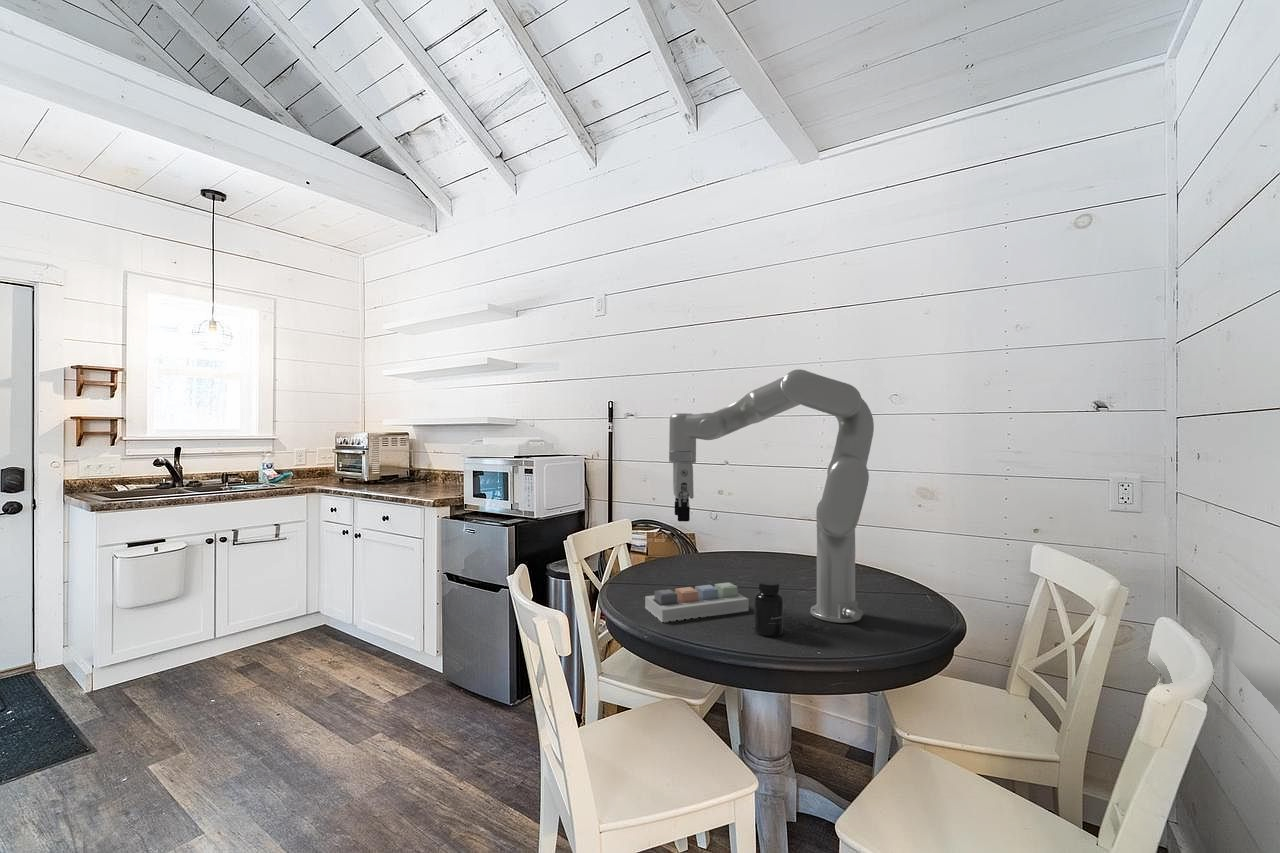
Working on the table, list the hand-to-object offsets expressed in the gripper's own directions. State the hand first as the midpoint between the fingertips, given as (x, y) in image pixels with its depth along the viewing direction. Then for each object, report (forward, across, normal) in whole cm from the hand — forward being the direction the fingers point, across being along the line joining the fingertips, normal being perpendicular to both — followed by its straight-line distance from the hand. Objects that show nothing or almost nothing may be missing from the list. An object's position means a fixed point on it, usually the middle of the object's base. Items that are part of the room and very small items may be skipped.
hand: (681, 518), depth 162 cm
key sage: (+21, -4, -12) cm, 24 cm away
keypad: (+24, -7, -4) cm, 25 cm away
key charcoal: (+21, -10, +5) cm, 24 cm away
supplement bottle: (+23, -24, -19) cm, 38 cm away
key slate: (+21, -6, -6) cm, 23 cm away
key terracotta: (+21, -8, -1) cm, 22 cm away
